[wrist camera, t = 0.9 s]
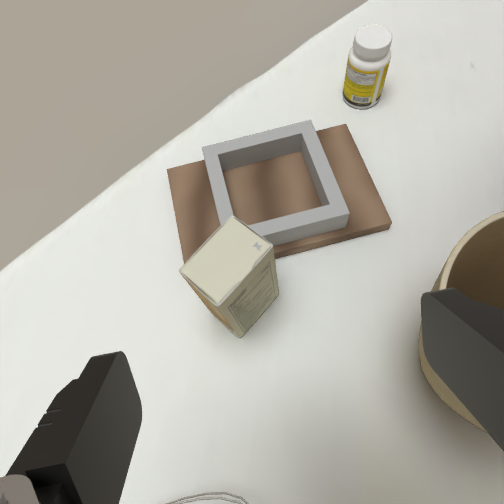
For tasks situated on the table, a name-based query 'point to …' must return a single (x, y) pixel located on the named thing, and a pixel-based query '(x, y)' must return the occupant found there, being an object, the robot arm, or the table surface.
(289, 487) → the table surface
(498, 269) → the plant pot
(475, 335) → the robot arm
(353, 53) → the supplement bottle
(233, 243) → the skincare box
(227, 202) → the collar
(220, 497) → the kitchen whisk
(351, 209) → the board
